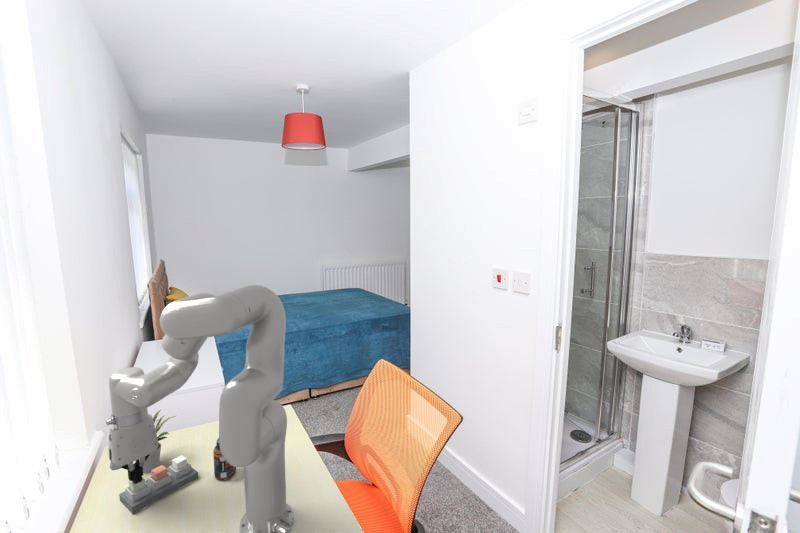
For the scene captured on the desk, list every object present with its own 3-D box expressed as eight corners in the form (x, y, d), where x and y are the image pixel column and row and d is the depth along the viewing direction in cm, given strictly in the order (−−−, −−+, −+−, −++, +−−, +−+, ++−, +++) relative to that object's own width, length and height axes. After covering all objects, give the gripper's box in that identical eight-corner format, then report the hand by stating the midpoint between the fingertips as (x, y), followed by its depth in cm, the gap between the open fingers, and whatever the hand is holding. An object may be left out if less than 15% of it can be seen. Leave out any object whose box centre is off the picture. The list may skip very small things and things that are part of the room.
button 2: (167, 476, 111) (166, 468, 110) (156, 482, 108) (155, 474, 108) (162, 472, 112) (162, 464, 112) (152, 478, 110) (151, 470, 109)
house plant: (178, 445, 131) (174, 399, 128) (182, 469, 119) (178, 418, 117) (126, 460, 123) (121, 411, 120) (125, 486, 111) (119, 433, 109)
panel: (198, 478, 115) (197, 465, 115) (132, 514, 102) (131, 500, 101) (184, 467, 120) (183, 455, 119) (119, 500, 106) (118, 487, 106)
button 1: (145, 488, 106) (145, 479, 106) (134, 494, 104) (133, 485, 103) (141, 483, 108) (140, 475, 107) (129, 489, 105) (128, 481, 105)
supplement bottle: (228, 483, 113) (226, 446, 112) (210, 480, 115) (207, 443, 113) (240, 469, 119) (239, 434, 117) (223, 466, 120) (221, 432, 119)
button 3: (187, 466, 115) (186, 458, 115) (177, 471, 113) (176, 463, 112) (182, 462, 117) (182, 455, 116) (172, 467, 114) (172, 460, 114)
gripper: (101, 434, 94) (108, 503, 97) (167, 408, 107) (172, 471, 109) (90, 423, 99) (97, 490, 102) (154, 400, 111) (159, 460, 114)
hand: (136, 480), depth 105 cm, fingers closed
